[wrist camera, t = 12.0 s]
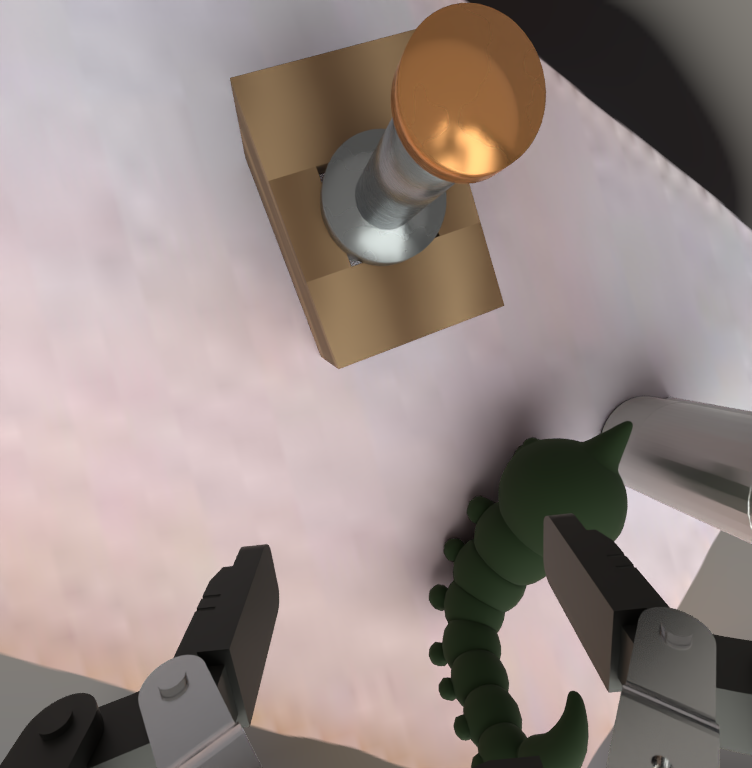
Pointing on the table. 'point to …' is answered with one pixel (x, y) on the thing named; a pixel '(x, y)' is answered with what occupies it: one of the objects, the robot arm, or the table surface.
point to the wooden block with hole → (303, 214)
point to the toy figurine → (520, 587)
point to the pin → (435, 133)
